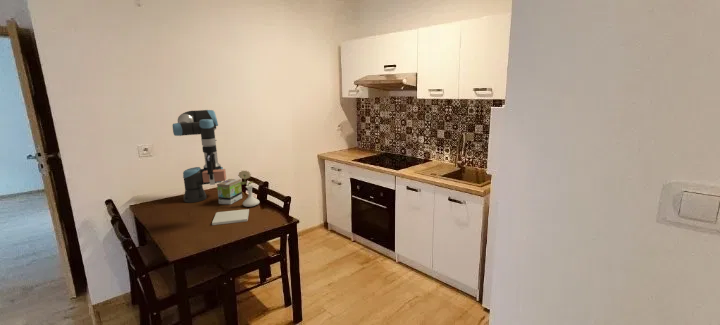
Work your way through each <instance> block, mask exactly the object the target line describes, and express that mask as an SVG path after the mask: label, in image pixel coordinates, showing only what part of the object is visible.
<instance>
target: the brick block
mask: <svg viewBox="0 0 720 325" xmlns="http://www.w3.org/2000/svg"><path fill="white" fill-rule="evenodd" d="M207 173H208V171H207V170H205V171H203V172H202V175H203V183H204V182H210V181H209V174H208V175H207ZM213 174H214V179H215V182H217V181H222V182H223V181H226V180H227V173H226V169H225V168H223V169H218V170H213Z"/></svg>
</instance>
